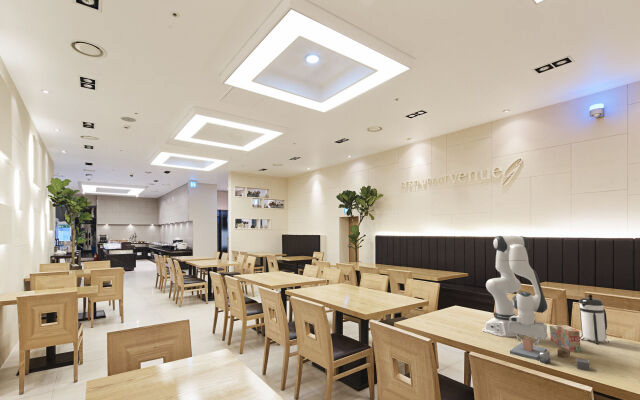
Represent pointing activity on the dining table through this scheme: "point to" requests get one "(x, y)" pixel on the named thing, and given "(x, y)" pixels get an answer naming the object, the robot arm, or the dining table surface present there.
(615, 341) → the dining table surface
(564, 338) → the stack of blocks
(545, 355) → the dark metal cylinder
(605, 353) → the dining table surface
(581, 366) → the charcoal rubber cube
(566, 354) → the walnut block
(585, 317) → the coffee press
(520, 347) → the slate board
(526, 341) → the terracotta block
